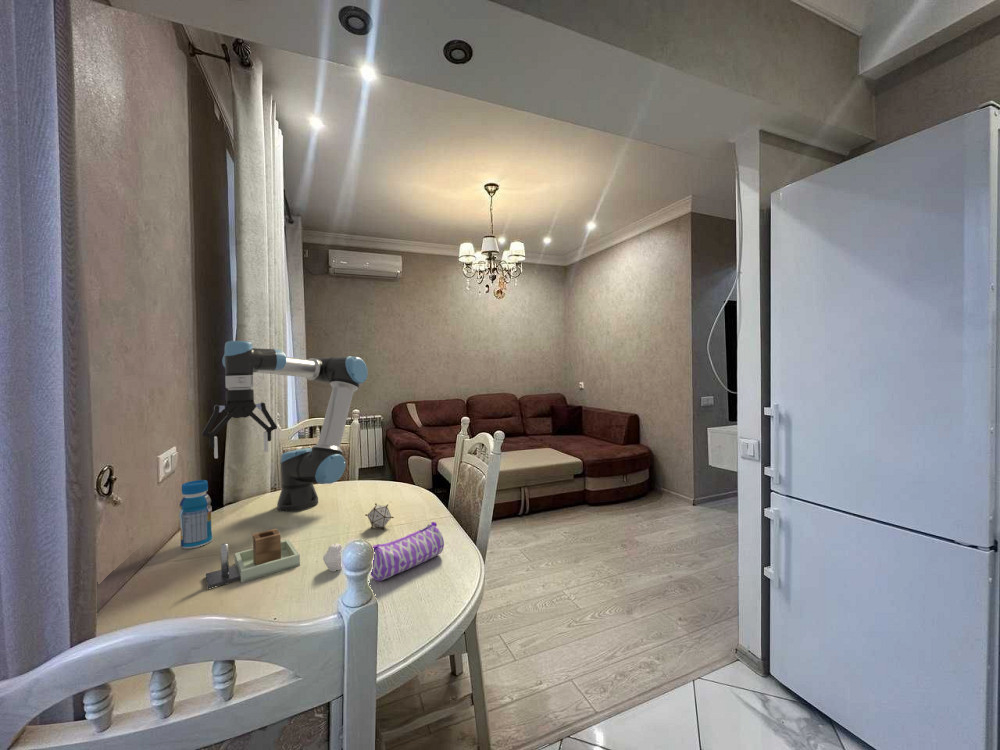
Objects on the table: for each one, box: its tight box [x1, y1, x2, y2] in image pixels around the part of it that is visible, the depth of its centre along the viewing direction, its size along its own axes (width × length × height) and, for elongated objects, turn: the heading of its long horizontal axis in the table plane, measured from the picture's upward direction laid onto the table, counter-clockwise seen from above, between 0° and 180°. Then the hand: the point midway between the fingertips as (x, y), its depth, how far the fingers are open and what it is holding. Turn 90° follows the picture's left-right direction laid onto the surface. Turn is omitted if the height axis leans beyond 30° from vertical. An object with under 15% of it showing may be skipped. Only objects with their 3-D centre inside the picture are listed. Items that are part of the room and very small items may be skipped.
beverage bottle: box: [178, 479, 213, 550], centre depth 129 cm, size 8×8×20 cm
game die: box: [364, 502, 395, 531], centre depth 139 cm, size 9×8×10 cm
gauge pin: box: [205, 542, 241, 590], centre depth 106 cm, size 8×8×9 cm
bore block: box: [252, 528, 282, 566], centre depth 114 cm, size 6×6×8 cm
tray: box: [234, 539, 301, 583], centre depth 114 cm, size 14×14×3 cm
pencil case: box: [370, 521, 445, 582], centre depth 111 cm, size 22×9×10 cm, turn 142°
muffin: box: [322, 543, 344, 572], centre depth 110 cm, size 6×6×7 cm
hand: (241, 454), depth 128 cm, fingers open, 13 cm apart
